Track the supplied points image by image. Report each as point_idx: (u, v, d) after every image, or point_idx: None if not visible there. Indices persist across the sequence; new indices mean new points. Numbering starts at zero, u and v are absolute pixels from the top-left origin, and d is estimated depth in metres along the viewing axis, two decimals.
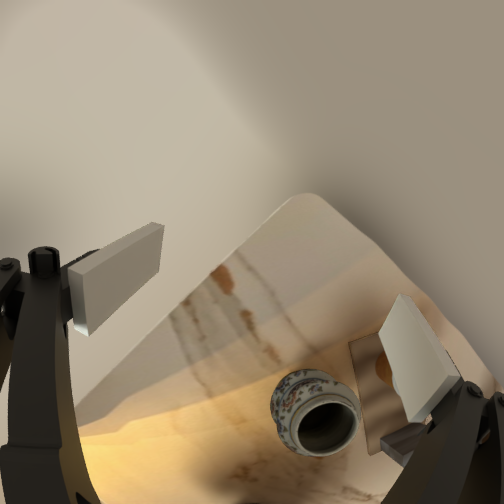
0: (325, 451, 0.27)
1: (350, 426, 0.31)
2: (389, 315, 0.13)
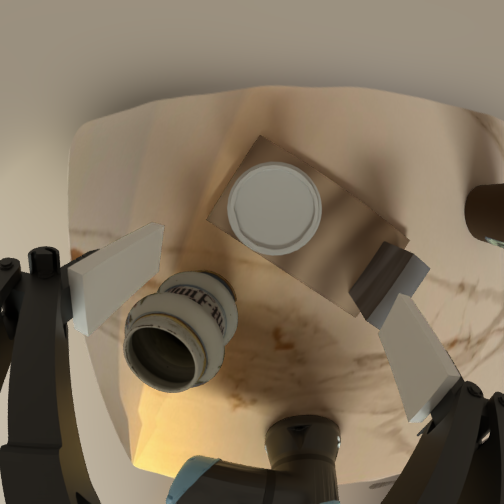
0: None
1: None
2: (389, 315, 0.13)
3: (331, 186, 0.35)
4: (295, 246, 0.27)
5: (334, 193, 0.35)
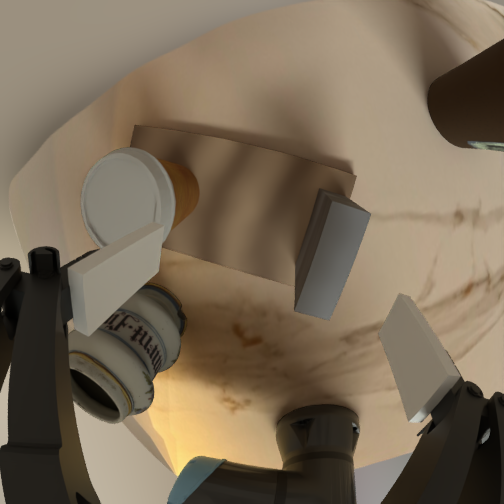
0: None
1: None
2: (389, 315, 0.13)
3: (226, 146, 0.28)
4: None
5: (232, 153, 0.28)
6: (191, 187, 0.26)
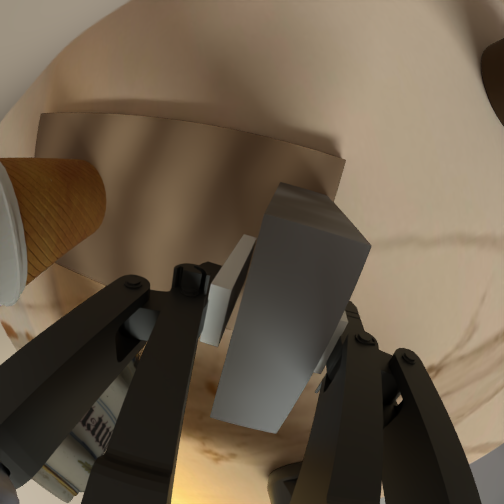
0: None
1: None
2: None
3: (136, 125, 0.16)
4: None
5: (144, 134, 0.16)
6: (80, 193, 0.15)
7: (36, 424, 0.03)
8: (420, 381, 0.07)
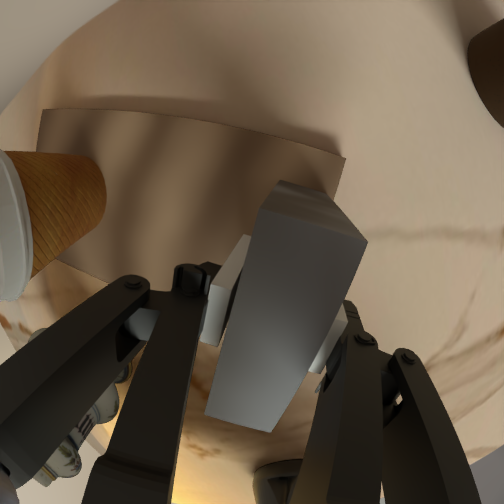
0: None
1: None
2: None
3: (137, 122, 0.16)
4: (2, 280, 0.09)
5: (145, 131, 0.16)
6: (84, 187, 0.15)
7: (36, 424, 0.03)
8: (420, 381, 0.07)
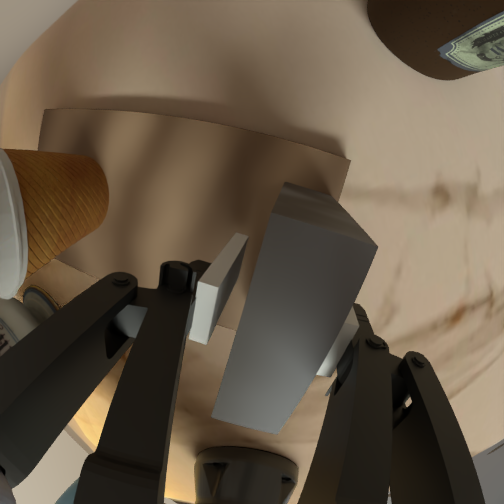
0: None
1: None
2: None
3: (140, 122, 0.16)
4: None
5: (148, 131, 0.16)
6: (84, 194, 0.15)
7: (29, 421, 0.03)
8: (429, 383, 0.07)
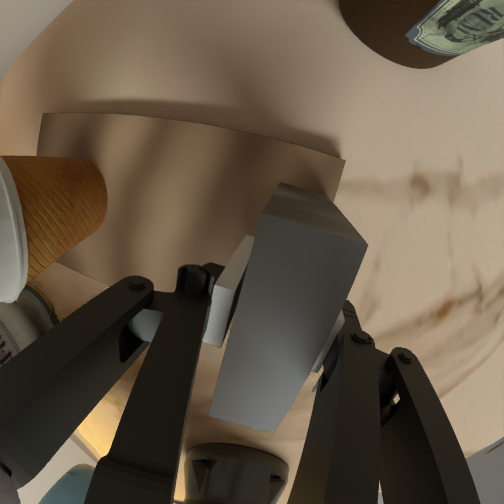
0: None
1: None
2: None
3: (137, 125, 0.16)
4: None
5: (145, 134, 0.17)
6: (83, 197, 0.15)
7: (38, 425, 0.03)
8: (418, 380, 0.07)
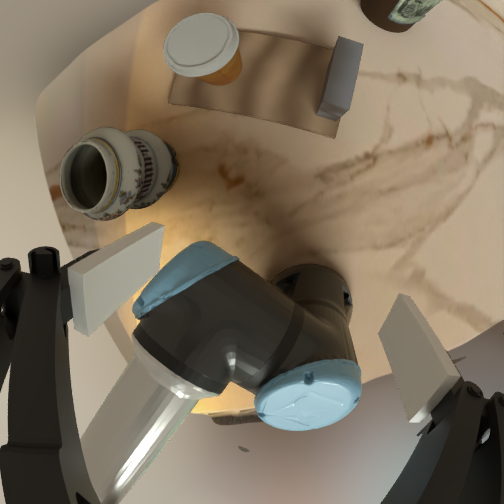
0: None
1: None
2: (389, 315, 0.13)
3: (262, 38, 0.31)
4: (220, 55, 0.24)
5: (266, 41, 0.32)
6: (240, 56, 0.30)
7: None
8: None
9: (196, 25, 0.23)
